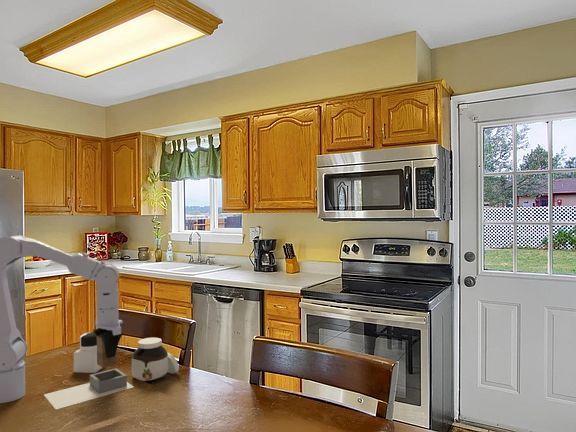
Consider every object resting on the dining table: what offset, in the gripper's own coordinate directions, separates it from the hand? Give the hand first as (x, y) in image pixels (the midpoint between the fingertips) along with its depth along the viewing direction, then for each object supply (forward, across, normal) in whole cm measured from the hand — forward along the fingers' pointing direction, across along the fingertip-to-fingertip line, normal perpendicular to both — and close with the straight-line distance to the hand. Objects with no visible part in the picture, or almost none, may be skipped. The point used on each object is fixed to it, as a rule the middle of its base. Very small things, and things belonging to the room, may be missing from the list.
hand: (108, 355), depth 121 cm
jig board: (+10, 0, +5) cm, 11 cm away
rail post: (+2, 0, 0) cm, 3 cm away
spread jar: (+10, -1, -14) cm, 17 cm away
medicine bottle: (+10, +18, -1) cm, 21 cm away
